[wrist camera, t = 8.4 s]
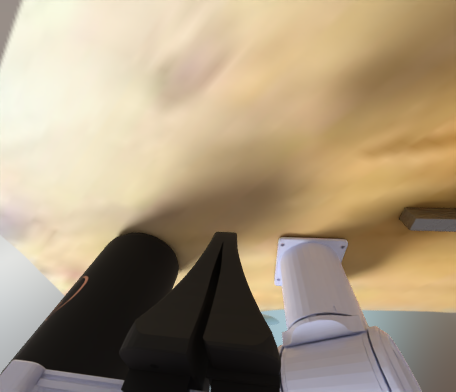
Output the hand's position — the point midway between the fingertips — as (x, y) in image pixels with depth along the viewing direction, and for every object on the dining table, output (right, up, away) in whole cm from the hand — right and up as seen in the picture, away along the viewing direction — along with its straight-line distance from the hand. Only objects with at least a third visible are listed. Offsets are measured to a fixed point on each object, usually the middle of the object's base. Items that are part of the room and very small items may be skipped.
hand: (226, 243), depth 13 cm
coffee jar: (-12, -6, +17) cm, 22 cm away
